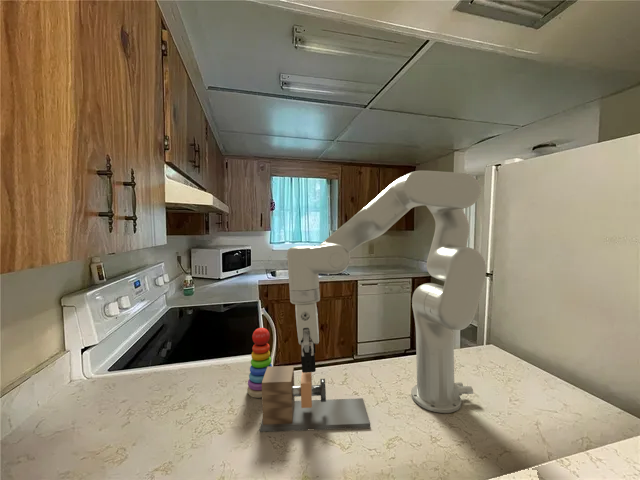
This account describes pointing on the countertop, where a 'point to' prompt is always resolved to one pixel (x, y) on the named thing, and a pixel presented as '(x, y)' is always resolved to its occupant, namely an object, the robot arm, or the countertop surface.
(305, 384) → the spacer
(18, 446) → the countertop surface
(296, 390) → the shaft
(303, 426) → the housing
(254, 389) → the stacking toy
